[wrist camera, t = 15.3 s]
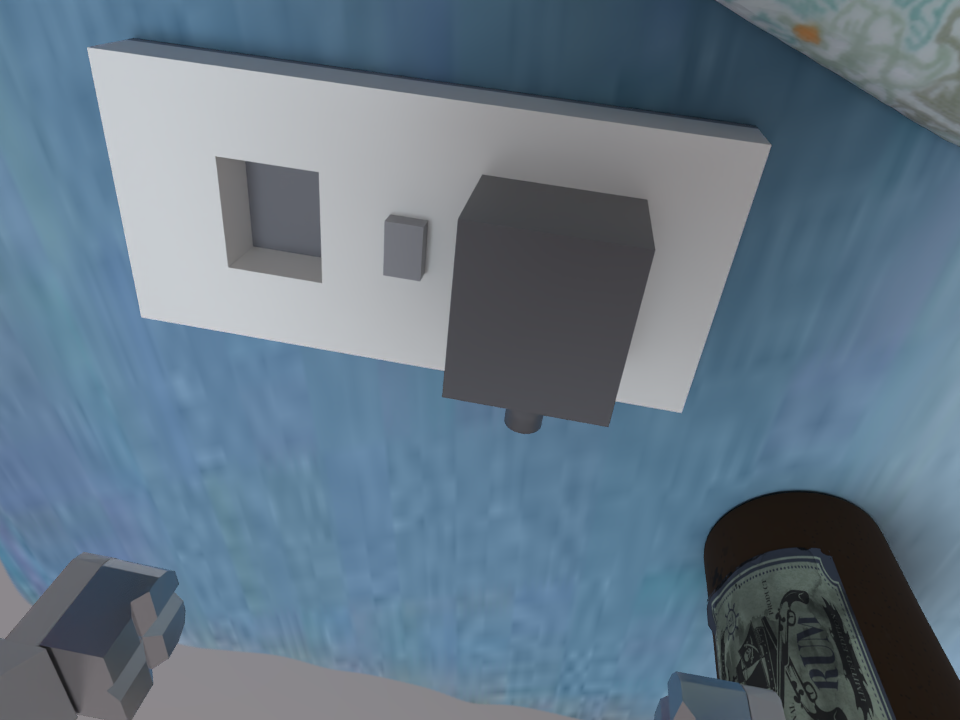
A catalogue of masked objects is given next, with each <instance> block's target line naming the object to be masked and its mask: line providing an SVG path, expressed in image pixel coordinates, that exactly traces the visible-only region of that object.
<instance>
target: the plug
mask: <svg viewBox="0 0 960 720" xmlns="http://www.w3.org/2000/svg"><path fill="white" fill-rule="evenodd" d="M654 253H655V244H654V238H653V232H652V225H651V219H650V213H649V206H648V200H647V199H640V198H634V197H627V196H621V195H614V194H608V193H601V192H594V191H588V190H581V189H575V188H568V187H562V186H555V185H548V184H542V183H535V182H529V181H522V180H516V179H509V178H502V177H496V176H489V175H483V174H482V176H481V178H480V179H479V181H478V183H477V185H476V187H475V188H474V190H473V192H472V194H471V196H470V198H469V199H468V201H467V203H466V205H465V207H464V209H463V210H462V212H461V214H460V216H459V218H458V223H457V234H456V246H455V257H454V268H453V280H452V291H451V302H450V314H449V325H448V337H447V348H446V359H445V371H444V382H443V393H442V397H445V398H450V399H456V400H461V401H467V402H472V403H478V404H484V405H489V406H495V407H500V408H506V413H505V419H504V421H505V424H506V425H507V427H508V428H510V429H511V430H513V431H515V432H518V433H522V434H530V433H534V432H536V431H538V430H539V429H540V427H541V424H542V419H543V415H544V416H550V417H555V418H561V419H566V420H572V421H577V422H583V423H589V424H594V425H600V426H605V427H609V423H610V419H611V416H612V412H613V408H614V404H615V401H616V397H617V393H618V389H619V386H620V382H621V378H622V374H623V370H624V367H625V363H626V359H627V355H628V352H629V348H630V344H631V340H632V336H633V333H634V329H635V325H636V321H637V318H638V314H639V310H640V306H641V303H642V299H643V295H644V291H645V287H646V284H647V280H648V276H649V272H650V269H651V265H652V261H653V257H654Z"/></svg>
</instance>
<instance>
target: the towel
mask: <svg viewBox="0 0 960 720" xmlns="http://www.w3.org/2000/svg"><path fill="white" fill-rule="evenodd" d="M715 1H717V2H719V3H721V4H722V5H724V6H725V7H727V8H729V9H730V10H732V11H733V12H735V13H736V14H738V15H739V16H741V17H742V18H744V19H746V20H747V21H749V22H750V23H752V24H754V25H756V26H757V27H759V28H761V29H762V30H764V31H766V32H768V33H769V34H771V35H773V36H775V37H777V38H778V39H780V40H781V41H782V42H784V43H785V44H787V45H789V46H790V47H792V48H794V49H796V50H798V51H799V52H801V53H803V54H805V55H806V56H808V57H809V58H811V59H813V60H814V61H816V62H817V63H819V64H820V65H822V66H824V67H825V68H827V69H829V70H831V71H833V72H834V73H836V74H838V75H839V76H841V77H843V78H844V79H846V80H847V81H849V82H851V83H852V84H854V85H855V86H857V87H858V88H860V89H862V90H864V91H865V92H867V93H869V94H871V95H872V96H874V97H875V98H877V99H878V100H879V101H881V102H883V103H885V104H887V105H889V106H890V107H892V108H894V109H896V110H897V111H898V112H900V113H901V114H903V115H904V116H906V117H907V118H909V119H910V120H912V121H914V122H915V123H917V124H919V125H921V126H923V127H924V128H926V129H928V130H930V131H932V132H933V133H935V134H936V135H938V136H940V137H941V138H943V139H944V140H946V141H949V142H951V143H954V144H956V145H957V146H959V147H960V0H715Z"/></svg>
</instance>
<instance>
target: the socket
mask: <svg viewBox="0 0 960 720" xmlns="http://www.w3.org/2000/svg"><path fill="white" fill-rule="evenodd" d="M87 50H88V55H89V60H90V65H91V70H92V74H93V79H94V84H95V89H96V94H97V99H98V104H99V109H100V114H101V119H102V124H103V129H104V134H105V139H106V144H107V149H108V154H109V159H110V164H111V169H112V174H113V178H114V183H115V188H116V193H117V198H118V203H119V208H120V213H121V218H122V223H123V228H124V233H125V238H126V243H127V248H128V253H129V258H130V263H131V268H132V273H133V277H134V282H135V287H136V292H137V297H138V302H139V307H140V312H141V317H143V318H148V319H154V320H160V321H165V322H171V323H177V324H182V325H188V326H193V327H199V328H205V329H210V330H216V331H222V332H227V333H233V334H239V335H244V336H250V337H256V338H261V339H267V340H272V341H278V342H284V343H289V344H295V345H301V346H306V347H312V348H318V349H323V350H329V351H335V352H340V353H346V354H352V355H357V356H363V357H368V358H374V359H380V360H385V361H391V362H397V363H402V364H408V365H414V366H419V367H425V368H431V369H436V370H442V371H445V359H446V348H447V337H448V325H449V314H450V302H451V291H452V280H453V268H454V257H455V246H456V234H457V223H458V218H459V216H460V214H461V212H462V210H463V209H464V207H465V205H466V203H467V201H468V199H469V198H470V196H471V194H472V192H473V190H474V188H475V187H476V185H477V183H478V181H479V179H480V178H481V176H482V174H483V175H489V176H496V177H502V178H509V179H516V180H522V181H529V182H535V183H542V184H548V185H555V186H562V187H568V188H575V189H581V190H588V191H594V192H601V193H608V194H614V195H621V196H627V197H634V198H640V199H647V200H648V206H649V213H650V219H651V225H652V232H653V238H654V244H655V253H654V257H653V261H652V265H651V269H650V272H649V276H648V280H647V284H646V287H645V291H644V295H643V299H642V303H641V306H640V310H639V314H638V318H637V321H636V325H635V329H634V333H633V336H632V340H631V344H630V348H629V352H628V355H627V359H626V363H625V367H624V370H623V374H622V378H621V382H620V386H619V389H618V393H617V397H616V401H617V402H622V403H628V404H634V405H639V406H645V407H651V408H656V409H662V410H668V411H673V412H679V413H682V410H683V407H684V404H685V401H686V398H687V395H688V392H689V389H690V386H691V383H692V381H693V378H694V375H695V372H696V369H697V366H698V363H699V360H700V357H701V354H702V351H703V348H704V345H705V342H706V339H707V336H708V333H709V330H710V327H711V324H712V321H713V318H714V315H715V312H716V309H717V306H718V303H719V300H720V297H721V294H722V291H723V288H724V285H725V282H726V279H727V276H728V273H729V270H730V267H731V264H732V261H733V258H734V256H735V253H736V250H737V247H738V244H739V241H740V238H741V235H742V232H743V229H744V226H745V223H746V220H747V217H748V214H749V211H750V208H751V205H752V202H753V199H754V196H755V193H756V190H757V187H758V184H759V181H760V178H761V175H762V172H763V169H764V166H765V163H766V160H767V157H768V154H769V151H770V148H771V144H770V143H769V141H768V140H767V139H766V138H765V136H764V135H763V134H762V133H761V132H760V130H759V129H758V128H757V127H756V126H753V125H746V124H739V123H732V122H725V121H718V120H711V119H703V118H696V117H689V116H682V115H675V114H668V113H661V112H654V111H647V110H640V109H632V108H625V107H618V106H611V105H604V104H597V103H590V102H583V101H576V100H569V99H561V98H554V97H547V96H540V95H533V94H526V93H519V92H512V91H505V90H497V89H490V88H483V87H476V86H469V85H462V84H455V83H448V82H441V81H434V80H426V79H419V78H412V77H405V76H398V75H391V74H384V73H377V72H370V71H363V70H355V69H348V68H341V67H334V66H327V65H320V64H313V63H306V62H299V61H291V60H284V59H277V58H270V57H263V56H256V55H249V54H242V53H235V52H228V51H220V50H213V49H206V48H199V47H192V46H185V45H178V44H171V43H164V42H157V41H149V40H142V39H135V38H132V39H127V40H122V41H117V42H112V43H107V44H102V45H96V46H91V47H87Z"/></svg>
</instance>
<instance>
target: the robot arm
mask: <svg viewBox="0 0 960 720" xmlns="http://www.w3.org/2000/svg"><path fill="white" fill-rule="evenodd" d="M178 585H179V582H178V579H177V576H176V573H175V571H172V570H167V569H163V568H158V567H153V566H148V565H143V564H138V563H133V562H129V561H124V560H119V559H116V558H112V557H107V556H102V555H96V554H91V553H86V552H84V553H82V554H80V555H79V556H77V557H76V558H74V559H73V560H72V561H71V562H70V563H69V564H68V565H67V566H66V568H65V569H64V570H63V571H62V572H61V573H60V575H59V576H58V577H57V578H56V579H55V581H54V582H53V583H52V584H51V585H50V586H49V588H48V589H47V590H46V591H45V592H44V593H43V595H42V596H41V597H40V598H39V599H38V601H37V602H36V603H35V604H34V605H33V606H32V608H31V609H30V610H29V611H28V612H27V613H26V615H25V616H24V617H23V618H22V619H21V621H20V622H19V623H18V624H17V625H16V626H15V628H14V629H13V630H12V631H11V632H10V634H9V635H8V636H7V637H6V638H5V639H2V638H0V720H76V719H77V715H83V716H88V717H93V718H99V719H104V720H132V718H133V717H134V715H135V713H136V712H137V710H138V709H139V707H140V705H141V704H142V702H143V700H144V699H145V697H146V695H147V694H148V692H149V690H150V689H151V687H152V686H153V676H152V669H153V668H155V667H156V666H157V665H159V664H161V663H162V662H164V661H165V660H167V659H169V657H170V655H171V654H172V652H173V650H174V648H175V647H176V645H177V643H178V641H179V638H180V635H181V633H182V630H183V627H184V624H185V611H186V610H185V606H184V602H183V600H182V599H181V598H180V597H179V596H178V595H177V594H176V593H174V591H175V590H176V588H177V586H178ZM654 720H786V719H785V715H784V711H783V706H782V702H781V699H780V698H779V696H778V695H777V693H776V692H774V691H773V690H769V689H764V688H759V687H753V686H748V685H743V684H739V683H737V682H731V681H726V680H720V679H715V678H709V677H704V676H698V675H693V674H687V673H682V672H674V673H673V674H672V675H671V677H670V679H669V681H668V696H666V697H664V698H661V699H660V701H659V704H658V706H657V709H656V711H655V717H654Z"/></svg>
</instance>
